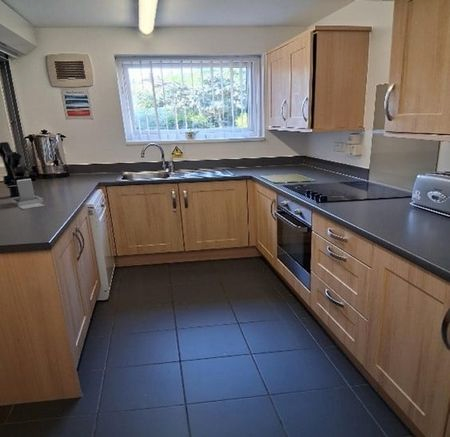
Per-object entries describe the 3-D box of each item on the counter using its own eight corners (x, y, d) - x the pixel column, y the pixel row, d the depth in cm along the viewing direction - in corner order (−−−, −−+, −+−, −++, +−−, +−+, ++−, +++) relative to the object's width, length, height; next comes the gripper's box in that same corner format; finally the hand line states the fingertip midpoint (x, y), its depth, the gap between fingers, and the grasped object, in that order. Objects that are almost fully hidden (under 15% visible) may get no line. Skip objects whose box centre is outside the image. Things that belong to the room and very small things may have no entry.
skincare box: (35, 201, 232) (31, 178, 228) (35, 202, 227) (31, 179, 223) (20, 202, 228) (16, 179, 224) (20, 204, 223) (16, 180, 219)
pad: (17, 206, 217) (17, 205, 217) (38, 203, 225) (38, 202, 225) (23, 209, 209) (22, 208, 209) (44, 205, 217) (44, 205, 217)
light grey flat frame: (10, 201, 234) (9, 197, 233) (33, 197, 243) (32, 194, 242) (18, 206, 218) (18, 202, 217) (43, 202, 227) (42, 198, 226)
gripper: (0, 163, 221) (8, 182, 216) (33, 160, 233) (41, 178, 228) (0, 174, 229) (7, 193, 224) (32, 171, 241) (39, 189, 236)
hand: (24, 188), depth 228 cm, fingers closed
